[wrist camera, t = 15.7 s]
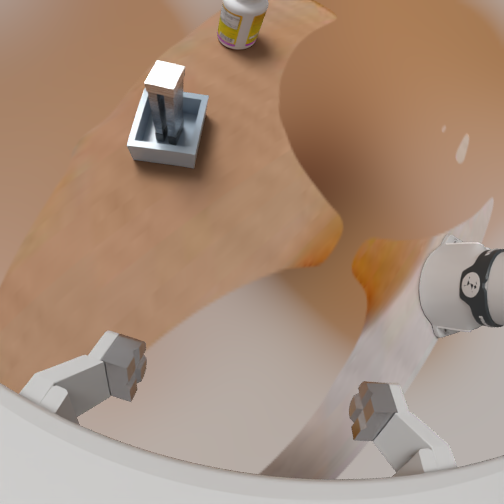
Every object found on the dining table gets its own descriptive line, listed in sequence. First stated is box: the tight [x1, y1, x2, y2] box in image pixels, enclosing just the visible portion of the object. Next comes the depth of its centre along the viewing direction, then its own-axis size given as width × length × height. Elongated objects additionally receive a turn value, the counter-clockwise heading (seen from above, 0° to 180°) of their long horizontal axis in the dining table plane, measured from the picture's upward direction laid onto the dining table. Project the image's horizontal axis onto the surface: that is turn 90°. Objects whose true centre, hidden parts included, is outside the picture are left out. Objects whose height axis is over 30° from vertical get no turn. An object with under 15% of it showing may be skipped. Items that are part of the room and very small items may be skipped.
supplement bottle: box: [217, 0, 268, 49], centre depth 37 cm, size 7×7×13 cm
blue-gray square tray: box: [127, 88, 209, 168], centre depth 38 cm, size 9×9×5 cm
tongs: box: [145, 60, 185, 146], centre depth 32 cm, size 3×3×14 cm
